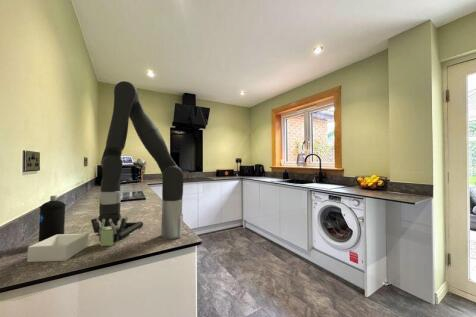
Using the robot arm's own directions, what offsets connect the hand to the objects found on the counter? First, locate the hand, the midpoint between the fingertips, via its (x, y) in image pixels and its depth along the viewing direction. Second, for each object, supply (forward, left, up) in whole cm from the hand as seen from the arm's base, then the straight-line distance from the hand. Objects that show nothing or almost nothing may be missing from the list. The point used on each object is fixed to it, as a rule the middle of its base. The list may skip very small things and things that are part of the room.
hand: (109, 242), depth 83 cm
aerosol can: (+24, -2, -1) cm, 24 cm away
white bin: (+13, +8, -1) cm, 15 cm away
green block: (0, 0, -1) cm, 1 cm away
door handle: (+2, -14, -1) cm, 15 cm away
